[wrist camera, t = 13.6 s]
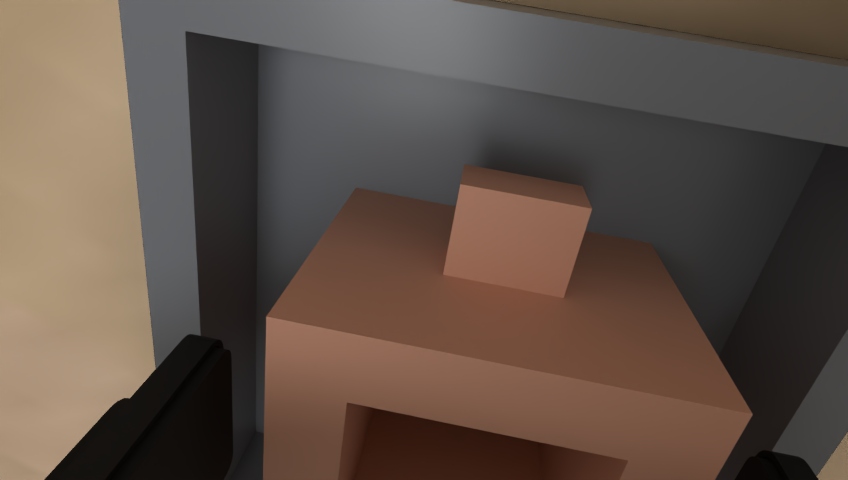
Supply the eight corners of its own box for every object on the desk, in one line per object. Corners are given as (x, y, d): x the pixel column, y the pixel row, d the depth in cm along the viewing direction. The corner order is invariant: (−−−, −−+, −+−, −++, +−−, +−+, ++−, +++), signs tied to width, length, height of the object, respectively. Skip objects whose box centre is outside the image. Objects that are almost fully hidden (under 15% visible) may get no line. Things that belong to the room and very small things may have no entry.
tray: (893, 67, 10) (1074, 105, 7) (656, 517, 16) (696, 649, 13) (226, -45, 11) (112, -57, 7) (234, 428, 16) (172, 533, 13)
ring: (678, 172, 10) (813, 311, 6) (569, 455, 14) (602, 674, 10) (363, 114, 11) (268, 207, 6) (333, 406, 14) (260, 597, 10)
